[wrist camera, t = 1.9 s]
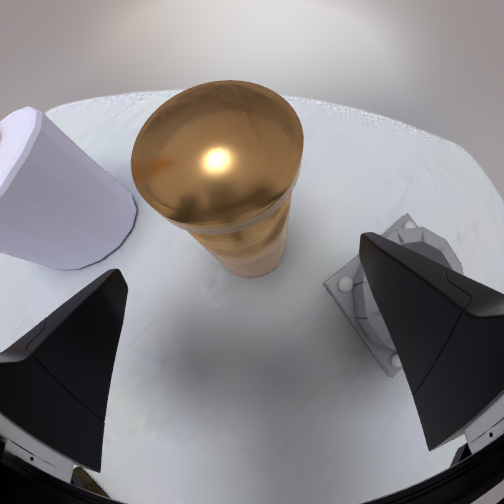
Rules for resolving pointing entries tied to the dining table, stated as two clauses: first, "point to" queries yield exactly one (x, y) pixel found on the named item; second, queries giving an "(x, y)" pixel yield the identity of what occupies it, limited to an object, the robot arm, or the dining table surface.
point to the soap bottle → (56, 197)
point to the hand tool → (89, 482)
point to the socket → (362, 301)
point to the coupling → (223, 170)
